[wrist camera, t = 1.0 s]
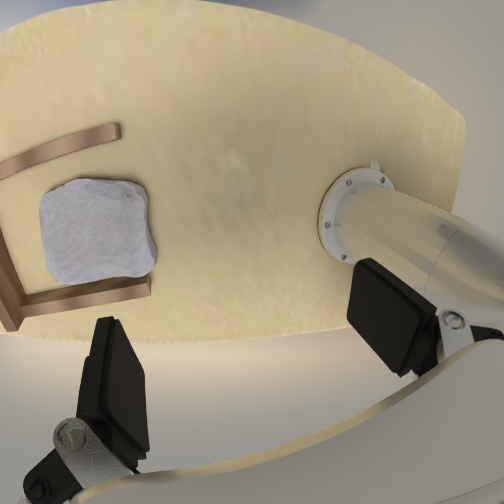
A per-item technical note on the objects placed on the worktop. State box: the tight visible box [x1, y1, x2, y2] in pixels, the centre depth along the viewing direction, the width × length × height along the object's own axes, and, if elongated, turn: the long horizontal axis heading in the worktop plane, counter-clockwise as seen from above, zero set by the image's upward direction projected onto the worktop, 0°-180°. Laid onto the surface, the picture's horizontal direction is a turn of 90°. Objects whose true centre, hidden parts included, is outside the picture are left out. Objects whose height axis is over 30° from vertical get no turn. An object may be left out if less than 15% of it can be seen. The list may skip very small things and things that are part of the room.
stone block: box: [39, 178, 157, 285], centre depth 23 cm, size 12×5×10 cm
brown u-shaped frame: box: [0, 123, 151, 332], centre depth 20 cm, size 19×17×5 cm
